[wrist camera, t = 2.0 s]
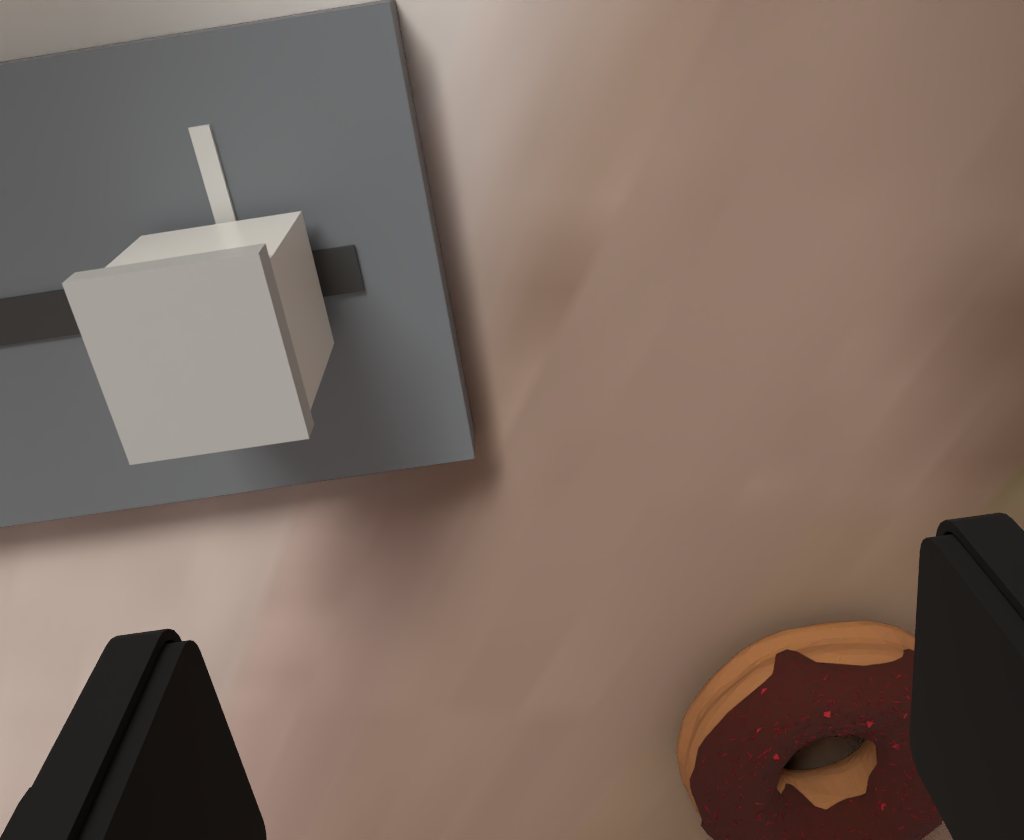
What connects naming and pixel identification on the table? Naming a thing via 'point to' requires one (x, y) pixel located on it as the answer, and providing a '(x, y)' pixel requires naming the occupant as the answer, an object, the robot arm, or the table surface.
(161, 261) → the fader tab
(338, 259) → the fader console
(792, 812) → the donut
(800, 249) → the table surface
